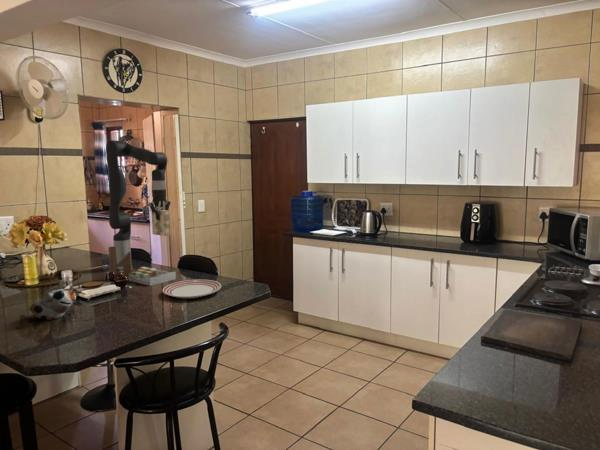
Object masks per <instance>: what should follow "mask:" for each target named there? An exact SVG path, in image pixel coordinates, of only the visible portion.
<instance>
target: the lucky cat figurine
mask: <svg viewBox="0 0 600 450" xmlns="http://www.w3.org/2000/svg"><path fill="white" fill-rule="evenodd" d="M76 299H77V294H76V291H75V290H74V291H69V290H67V289H64V288H58V289H52V290H51V291H48V292H47V293H46V294H45V296H43V297H42V298H41V299H38V300H36V301H34V302H33V303H31V305H30V306H29V308H28V309H29V311H30V312H31V314H32V315H34V316H35V317H36V318H38V319H44V320H45V321H52V319H53V320H56V319H61V318H62V317H63V316H64V315H65V314H66V312H67V311H68V310H69V308H70V307H71V306H72V304H73V303H74V302H75V300H76Z"/></svg>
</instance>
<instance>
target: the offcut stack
mask: <svg viewBox="0 0 600 450" xmlns="http://www.w3.org/2000/svg"><path fill="white" fill-rule="evenodd" d="M152 268H153V267H146V266H140V267H139V268H137V269H136V271H137V272H136V271H135V272H136V273H135V276H138V277H142V278H147V279H148V278H150V277H154V276H158V275H160V271H159V270H160V269H152Z"/></svg>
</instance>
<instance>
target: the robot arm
mask: <svg viewBox="0 0 600 450" xmlns="http://www.w3.org/2000/svg"><path fill="white" fill-rule="evenodd" d="M105 151H106V158H107V161H106V162H107V167H108V190H109V191H108V193H109V213H108V223H109V226H110V228H111V229H113V230H118V232H117V233H115V234H114V235H113V237H112V238H113V239H112V240H113V247H116V260H117V264H118V263H119V262H120V261H121V260H122V259H123V258H124V256H125V255H126V254H127V253H128V252H130V255H131V256H132V253H131V252H132V250H131V249H132V248H131V234H132V221H131V216H130V214H129V213H128V212H120V206H121V203H122V201H123V199H124V197H125V195H126V193H127V179H126V177H125V175H124V173H123V172H122V170H121V168H120V165H119V160H118V158H123V157H131V158H133V159H135V160H137V161H140V162H144V163H147V164H148V165H152V166H156V168H155V169H153V170H152V171H151V198H152V200H151V202H148V203H147V204H148V206H149V209H150V211H152V212H154V213H155V214H156V220H160V214H159V210H168V211H169V208H170V205H171V201H168V200H167V183H166V174H165V173H166V170H167V167H168V166H167V165H168V157H167V156H168V155H166V153H165V152H157V151H152V150H150V149H146V148H142V147H137V146H134V145H131V144H129V143H128V142H125V141H123V140H115V139H114V140H113V139H112V140H108V141H107V143H106V146H105ZM152 212H151V213H152ZM131 268H132V264H131ZM117 270H123V266H122V267H117Z"/></svg>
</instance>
